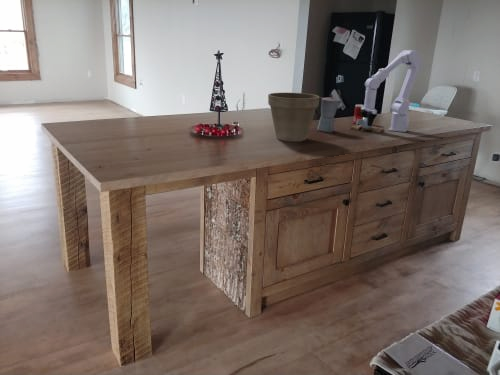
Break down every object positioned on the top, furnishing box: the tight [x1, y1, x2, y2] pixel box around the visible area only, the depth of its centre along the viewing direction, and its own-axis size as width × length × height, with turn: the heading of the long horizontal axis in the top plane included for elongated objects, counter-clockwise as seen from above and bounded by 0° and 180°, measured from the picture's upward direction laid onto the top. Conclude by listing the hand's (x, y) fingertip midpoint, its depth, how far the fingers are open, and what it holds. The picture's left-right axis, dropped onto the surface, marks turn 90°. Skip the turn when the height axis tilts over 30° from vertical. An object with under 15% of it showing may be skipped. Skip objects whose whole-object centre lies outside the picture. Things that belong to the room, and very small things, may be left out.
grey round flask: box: [355, 117, 373, 130], centre depth 253 cm, size 9×6×6 cm, turn 104°
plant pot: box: [267, 92, 320, 143], centre depth 221 cm, size 25×25×22 cm
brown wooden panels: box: [350, 124, 384, 134], centre depth 256 cm, size 16×11×1 cm
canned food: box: [353, 104, 364, 125], centre depth 272 cm, size 8×8×11 cm
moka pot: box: [315, 94, 343, 133], centre depth 244 cm, size 10×15×20 cm, turn 78°
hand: (366, 124), depth 254 cm, fingers closed on grey round flask, 6 cm apart
